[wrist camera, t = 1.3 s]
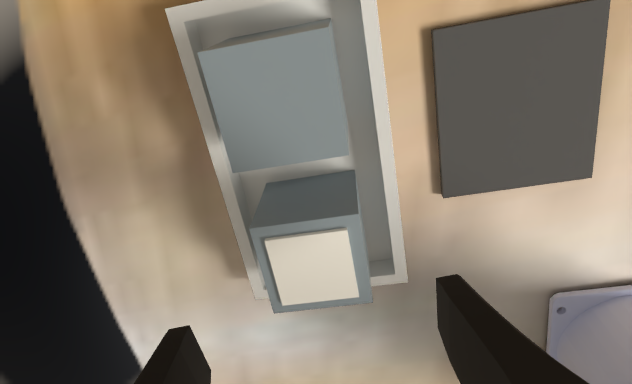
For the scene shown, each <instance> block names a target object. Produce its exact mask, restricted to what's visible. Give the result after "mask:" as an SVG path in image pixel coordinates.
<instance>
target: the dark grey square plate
mask: <svg viewBox="0 0 632 384" xmlns="http://www.w3.org/2000/svg"><path fill="white" fill-rule="evenodd" d="M609 9H610V0H587V1H582V2H577V3H571V4H566V5H561V6H555V7H550V8H545V9H539V10H534V11H529V12H523V13H518V14H513V15H507V16H502V17H497V18H492V19H486V20H481V21H476V22H470V23H465V24H460V25H454V26H449V27H444V28H438V29H433V30H431V34H432V50H433V65H434V81H435V97H436V112H437V128H438V144H439V159H440V175H441V191H442V196H443V198H449V197H456V196H463V195H470V194H478V193H485V192H492V191H499V190H506V189H514V188H521V187H528V186H535V185H543V184H550V183H557V182H564V181H571V180H579V179H586V178H592V172H593V163H594V153H595V143H596V134H597V124H598V115H599V105H600V95H601V86H602V76H603V67H604V57H605V47H606V38H607V28H608V19H609Z"/></svg>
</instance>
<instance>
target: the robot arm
mask: <svg viewBox="0 0 632 384" xmlns="http://www.w3.org/2000/svg"><path fill="white" fill-rule="evenodd" d="M436 291H437V317H438V329H439V332H440V335H441V338H442V340H443V343H444V346H445V349H446V352H447V354H448V357H449V360H450V362H451V364H452V367H453V369H454V371H455V373H456V375H457V377H458V379H459V381H460V383H461V384H632V285H626V286H617V287H608V288H598V289H589V290H580V291H570V292H561V293H556V294H554V295H553V296H552V297H551V298H550V303H549V318H548V333H547V349H546V352H545V351H544V350H542V349H541V348H540V347H539V346H537V345H536V344H535V343H533V342H532V341H531V340H530V339H529V338H527V337H526V336H525V335H524V334H522V333H521V332H520V331H519V330H518V329H517V328H515V327H514V326H513V325H512V324H511V323H510V322H508V321H507V320H506V319H505V318H504V317H503V316H502V315H500V314H499V313H498V312H497V311H496V310H495V309H494V308H493V307H492V306H491V305H490V304H488V303H487V302H486V301H485V300H484V299H483V298H482V297H481V296H480V295H479V294H478V293H477V292H476V291H475V290H474V289H473V288H472V287H471V286H470V285H469V284H468V283H467V282H466V281H465V280H464V279H463V278H462V277H461V276H459V275H458V274H455V275H450V276H444V277H439V278H436ZM560 307H562V308H561V309H558V308H560ZM557 309H558V310H557ZM210 383H211V369H210V367H209V365H208V363H207V361H206V359H205V357H204V355H203V352H202V350H201V348H200V346H199V344H198V342H197V340H196V338H195V336H194V334H193V332H192V330H191V327H190V325H189V326H183V327H178V328H173V329H169V330H168V331H167V333H166V334H165V336H164V337H163V339H162V340H161V342H160V344H159V345H158V347H157V348H156V350H155V351H154V353H153V355H152V356H151V358H150V359H149V361H148V363H147V364H146V366H145V367H144V369H143V370H142V372H141V374H140V375H139V377H138V378H137V380H136V381H135V383H134V384H210Z"/></svg>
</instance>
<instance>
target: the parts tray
mask: <svg viewBox="0 0 632 384" xmlns="http://www.w3.org/2000/svg"><path fill="white" fill-rule="evenodd" d="M165 12H166V15H167V18H168V21H169V24H170V28H171V31H172V34H173V37H174V41H175V44H176V47H177V50H178V53H179V57H180V60H181V63H182V66H183V69H184V73H185V76H186V79H187V82H188V85H189V89H190V92H191V95H192V98H193V101H194V105H195V108H196V111H197V114H198V117H199V121H200V124H201V127H202V130H203V134H204V137H205V140H206V143H207V146H208V150H209V153H210V156H211V159H212V162H213V166H214V169H215V172H216V175H217V178H218V182H219V185H220V188H221V191H222V194H223V198H224V201H225V204H226V207H227V210H228V214H229V217H230V220H231V223H232V226H233V230H234V233H235V236H236V239H237V243H238V246H239V249H240V252H241V255H242V259H243V262H244V265H245V268H246V271H247V275H248V278H249V281H250V284H251V287H252V291H253V294H254V297H255V300H259V299H268V298H269V295H268V292H267V288H266V285H265V282H264V278H263V275H262V271H261V268H260V265H259V261H258V258H257V254H256V251H255V248H254V244H253V241H252V237H251V234H250V231H249V228H250V225H251V222H252V220H253V217H254V214H255V212H256V209H257V206H258V204H259V201H260V199H261V196H262V193H263V191H264V188H265V185H266V183H270V182H277V181H283V180H290V179H297V178H303V177H310V176H317V175H323V174H330V173H336V172H343V171H350V170H355V174H356V180H357V186H358V193H359V199H360V205H361V212H362V218H363V224H364V231H365V237H366V243H367V251H368V261H369V270H370V279H371V287H372V286H381V285H390V284H398V283H407V282H408V275H407V267H406V258H405V249H404V240H403V231H402V222H401V213H400V205H399V196H398V187H397V178H396V169H395V160H394V152H393V143H392V134H391V125H390V116H389V107H388V98H387V90H386V81H385V72H384V63H383V54H382V45H381V36H380V28H379V19H378V10H377V1H376V0H204V1H199V2H194V3H189V4H185V5H180V6H175V7H170V8H166V9H165ZM330 18H331V21H332V28H333V34H334V40H335V47H336V53H337V59H338V66H339V72H340V78H341V85H342V91H343V98H344V104H345V110H346V117H347V126H348V143H349V155H348V156H341V157H335V158H328V159H322V160H316V161H309V162H303V163H296V164H290V165H283V166H277V167H270V168H264V169H258V170H251V171H245V172H238V173H232V169H231V166H230V162H229V159H228V156H227V152H226V149H225V145H224V142H223V138H222V135H221V132H220V128H219V125H218V121H217V118H216V115H215V111H214V108H213V104H212V101H211V98H210V94H209V91H208V87H207V84H206V81H205V77H204V74H203V70H202V67H201V63H200V60H199V57H198V53H197V52H200V51H202V50H204V49H206V48H209V47H211V46H213V45H215V44H218V43H220V42H222V41H224V40H227V39H229V38H234V37H239V36H244V35H249V34H254V33H259V32H264V31H269V30H274V29H279V28H284V27H289V26H295V25H300V24H305V23H310V22H315V21H320V20H325V19H330Z"/></svg>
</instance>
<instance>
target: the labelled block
mask: <svg viewBox="0 0 632 384" xmlns="http://www.w3.org/2000/svg"><path fill="white" fill-rule="evenodd" d="M249 231H250V234H251V237H252V241H253V244H254V248H255V251H256V254H257V258H258V261H259V265H260V268H261V271H262V275H263V278H264V282H265V285H266V288H267V292H268V295H269V299H270V302H271V306H272V309H273V312H274V313H283V312H292V311H301V310H310V309H319V308H328V307H337V306H346V305H355V304H364V303H373V298H372V289H371V279H370V270H369V261H368V251H367V243H366V237H365V231H364V224H363V218H362V212H361V205H360V199H359V193H358V186H357V180H356V174H355V170H350V171H343V172H336V173H330V174H323V175H317V176H310V177H303V178H297V179H290V180H283V181H277V182H270V183H266V185H265V188H264V191H263V193H262V196H261V199H260V201H259V204H258V206H257V209H256V212H255V214H254V217H253V220H252V222H251V225H250V228H249Z"/></svg>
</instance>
